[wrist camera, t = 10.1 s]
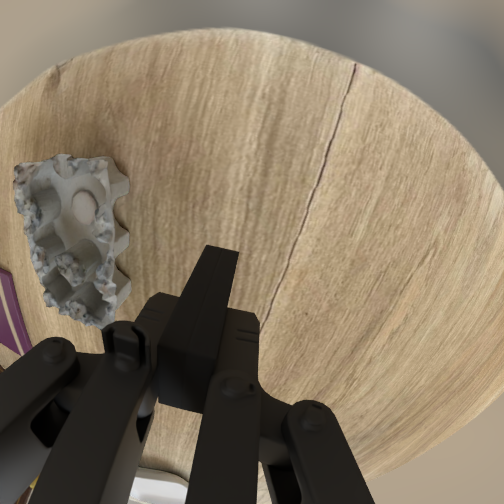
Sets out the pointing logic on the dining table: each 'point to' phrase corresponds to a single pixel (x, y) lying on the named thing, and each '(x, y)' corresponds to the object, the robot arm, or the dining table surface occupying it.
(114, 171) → the egg carton
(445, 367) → the dining table surface
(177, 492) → the plate
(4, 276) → the tea towel
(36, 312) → the dining table surface
